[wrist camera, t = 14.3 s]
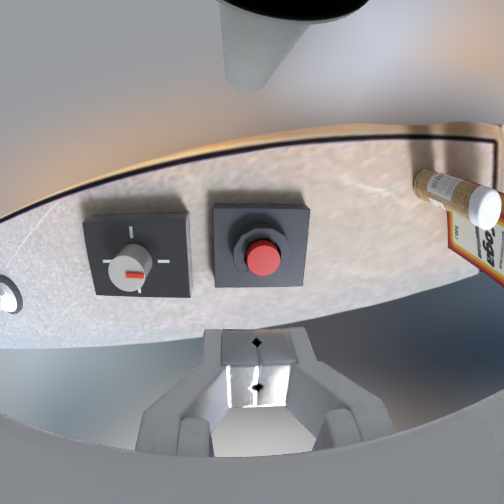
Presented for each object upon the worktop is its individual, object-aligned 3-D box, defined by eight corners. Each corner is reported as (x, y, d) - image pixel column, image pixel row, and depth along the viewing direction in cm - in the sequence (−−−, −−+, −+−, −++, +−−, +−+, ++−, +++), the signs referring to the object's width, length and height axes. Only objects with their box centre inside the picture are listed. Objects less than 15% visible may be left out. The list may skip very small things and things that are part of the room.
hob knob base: (92, 215, 33) (81, 222, 31) (189, 212, 34) (185, 219, 32) (103, 284, 37) (95, 295, 34) (193, 286, 38) (190, 298, 35)
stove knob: (-8, 295, 37) (-16, 303, 34) (-3, 267, 35) (-12, 275, 32) (19, 319, 39) (11, 328, 36) (25, 293, 37) (17, 302, 34)
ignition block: (214, 203, 34) (212, 212, 31) (305, 204, 35) (314, 213, 31) (215, 279, 38) (214, 295, 34) (299, 278, 39) (305, 293, 35)
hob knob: (120, 276, 34) (110, 291, 30) (116, 243, 32) (104, 255, 29) (153, 278, 34) (146, 294, 31) (151, 244, 32) (142, 257, 29)
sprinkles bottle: (418, 205, 36) (482, 238, 24) (408, 176, 34) (475, 201, 22) (439, 190, 35) (505, 218, 23) (430, 162, 34) (499, 182, 21)
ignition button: (246, 239, 32) (247, 245, 31) (278, 239, 33) (281, 245, 31) (245, 269, 34) (246, 276, 32) (277, 268, 34) (279, 275, 32)
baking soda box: (474, 235, 39) (539, 277, 24) (448, 247, 39) (514, 296, 24) (472, 182, 35) (548, 211, 20) (445, 191, 35) (524, 226, 21)
